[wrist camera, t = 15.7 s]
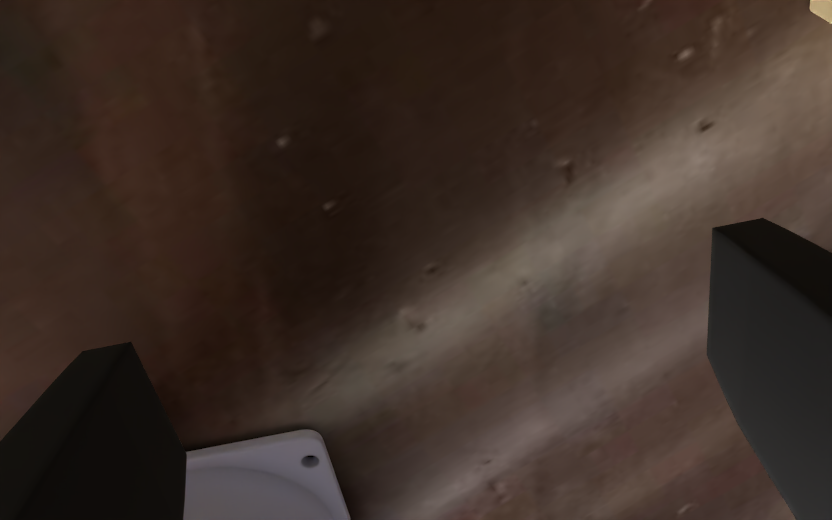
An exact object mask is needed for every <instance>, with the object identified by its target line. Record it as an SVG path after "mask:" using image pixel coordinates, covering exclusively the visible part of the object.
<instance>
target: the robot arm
mask: <svg viewBox="0 0 832 520" xmlns="http://www.w3.org/2000/svg"><path fill="white" fill-rule="evenodd" d="M707 356H708V359H709V361H710V363H711V365H712V368H713V370H714V372H715V375H716V377H717V379H718V382H719V384H720V386H721V389H722V391H723V393H724V395H725V397H726V400H727V402H728V404H729V406H730V408H731V410H732V412H733V415H734V417H735V419H736V421H737V423H738V425H739V427H740V428H741V430H742V432H743V434H744V435H745V437H746V439H747V440H748V442H749V444H750V445H751V447H752V448H753V450H754V452H755V453H756V455H757V457H758V458H759V460H760V461H761V463H762V465H763V466H764V468H765V470H766V471H767V473H768V475H769V476H770V478H771V479H772V481H773V483H774V484H775V486H776V487H777V489H778V491H779V492H780V494H781V496H782V497H783V499H784V500H785V502H786V504H787V505H788V507H789V508H790V510H791V512H792V513H793V515H794V516H795V518H796V520H832V253H831V252H829V251H827V250H825V249H823V248H821V247H819V246H818V245H816V244H814V243H812V242H810V241H808V240H806V239H804V238H802V237H800V236H799V235H797V234H795V233H793V232H791V231H789V230H787V229H785V228H783V227H781V226H779V225H777V224H775V223H772V222H770V221H768V220H766V219H764V218H761V219H756V220H751V221H746V222H740V223H735V224H730V225H725V226H720V227H715V228H713V230H712V252H711V273H710V295H709V317H708V338H707ZM308 455H313V456H315V457H305V456H308ZM0 520H351V518H350V515H349V512H348V509H347V506H346V504H345V501H344V498H343V495H342V492H341V489H340V486H339V483H338V481H337V478H336V475H335V472H334V469H333V466H332V463H331V460H330V458H329V455H328V452H327V449H326V446H325V443H324V440H323V438H322V436H321V435H320V434H319V433H318V432H316V431H314V430H309V429H304V430H297V431H292V432H287V433H282V434H277V435H271V436H266V437H261V438H256V439H251V440H245V441H240V442H235V443H230V444H225V445H220V446H214V447H209V448H204V449H199V450H194V451H188V452H185V450H184V448H183V446H182V444H181V442H180V440H179V438H178V436H177V434H176V432H175V430H174V428H173V425H172V423H171V421H170V419H169V417H168V415H167V413H166V411H165V409H164V407H163V405H162V403H161V401H160V399H159V397H158V395H157V393H156V391H155V389H154V387H153V385H152V383H151V381H150V379H149V377H148V375H147V373H146V371H145V369H144V367H143V365H142V363H141V361H140V359H139V357H138V355H137V353H136V351H135V349H134V347H133V345H132V343H131V342H128V343H123V344H117V345H112V346H107V347H102V348H97V349H92V350H87V351H83V352H82V353H81V354H80V355H79V356H78V357H77V358H76V359H75V360H74V361H73V362H72V363H71V364H70V365H69V366H68V367H67V368H66V369H65V370H64V371H63V372H62V373H61V374H60V375H59V376H58V378H57V379H56V380H55V381H54V382H53V383H52V384H51V385H50V386H49V387H48V389H47V390H46V391H45V392H44V393H43V394H42V395H41V396H40V398H39V399H38V400H37V401H36V402H35V403H34V404H33V405H32V407H31V408H30V409H29V410H28V411H27V412H26V413H25V415H24V416H23V417H22V418H21V419H20V420H19V421H18V422H17V424H16V425H15V426H14V427H13V428H12V429H11V430H10V431H9V433H8V434H7V435H6V436H5V437H4V438H3V439H2V440H1V441H0Z"/></svg>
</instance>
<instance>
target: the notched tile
mask: <svg viewBox="0 0 832 520" xmlns="http://www.w3.org/2000/svg"><path fill="white" fill-rule="evenodd" d="M810 11H811V12H813V13H815V14H816V15H818V16H820V17H821V18H823V19H825V20H826V21H828V22H830V23H831V24H832V0H810Z"/></svg>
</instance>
